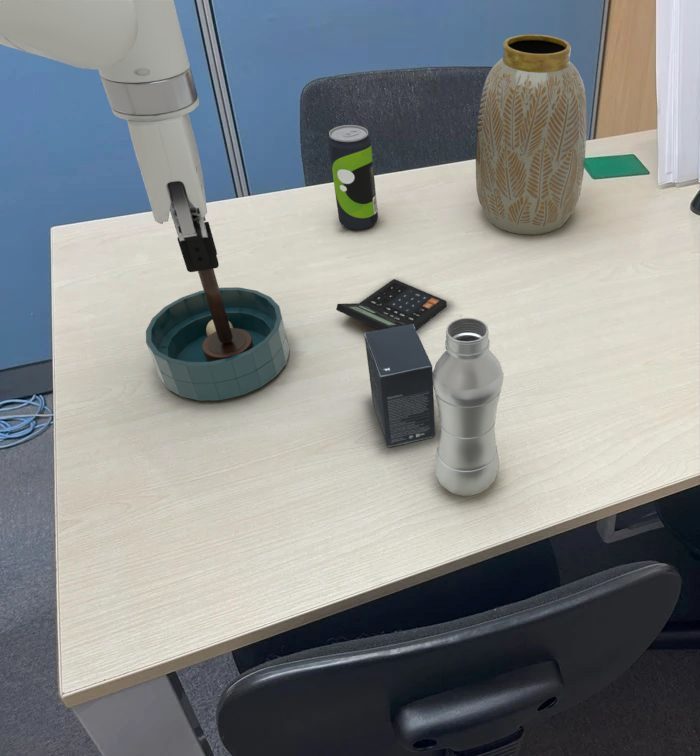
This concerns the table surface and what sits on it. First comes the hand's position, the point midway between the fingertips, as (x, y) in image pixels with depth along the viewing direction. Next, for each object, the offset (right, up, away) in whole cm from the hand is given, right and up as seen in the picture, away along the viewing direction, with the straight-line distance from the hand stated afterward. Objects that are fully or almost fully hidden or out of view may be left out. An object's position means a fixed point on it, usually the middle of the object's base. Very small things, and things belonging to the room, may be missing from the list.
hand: (202, 262), depth 76 cm
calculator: (+18, -4, +20) cm, 27 cm away
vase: (+36, +15, +42) cm, 57 cm away
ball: (-3, -7, +12) cm, 14 cm away
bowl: (-2, -11, +11) cm, 16 cm away
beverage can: (+9, +12, +38) cm, 41 cm away
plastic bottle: (+29, -23, -2) cm, 37 cm away
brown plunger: (0, -10, +9) cm, 14 cm away
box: (+21, -17, +5) cm, 28 cm away
